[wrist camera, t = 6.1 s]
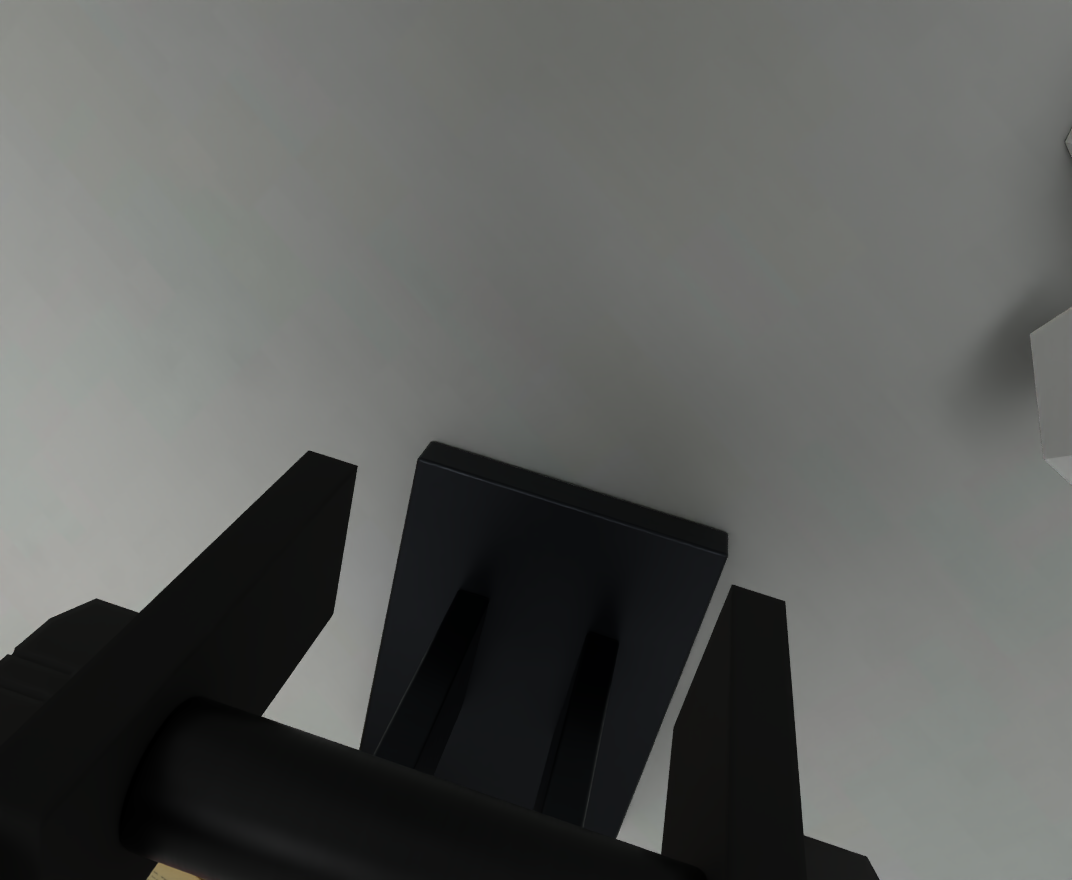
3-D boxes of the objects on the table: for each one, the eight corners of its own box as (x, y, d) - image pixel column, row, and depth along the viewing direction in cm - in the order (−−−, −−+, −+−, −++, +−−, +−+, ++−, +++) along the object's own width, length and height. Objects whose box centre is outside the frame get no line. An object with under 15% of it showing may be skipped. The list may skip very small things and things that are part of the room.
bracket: (431, 439, 26) (118, 840, 13) (729, 532, 26) (721, 1059, 12) (369, 737, 31) (101, 1241, 18) (616, 822, 31) (523, 1413, 17)
